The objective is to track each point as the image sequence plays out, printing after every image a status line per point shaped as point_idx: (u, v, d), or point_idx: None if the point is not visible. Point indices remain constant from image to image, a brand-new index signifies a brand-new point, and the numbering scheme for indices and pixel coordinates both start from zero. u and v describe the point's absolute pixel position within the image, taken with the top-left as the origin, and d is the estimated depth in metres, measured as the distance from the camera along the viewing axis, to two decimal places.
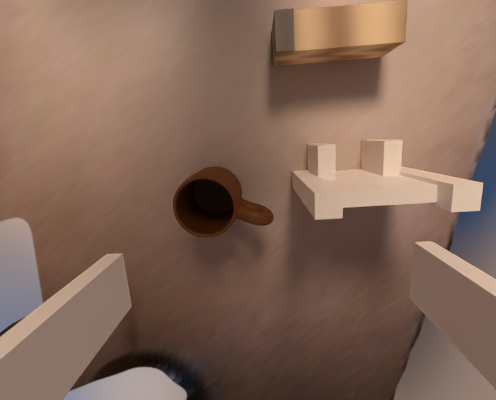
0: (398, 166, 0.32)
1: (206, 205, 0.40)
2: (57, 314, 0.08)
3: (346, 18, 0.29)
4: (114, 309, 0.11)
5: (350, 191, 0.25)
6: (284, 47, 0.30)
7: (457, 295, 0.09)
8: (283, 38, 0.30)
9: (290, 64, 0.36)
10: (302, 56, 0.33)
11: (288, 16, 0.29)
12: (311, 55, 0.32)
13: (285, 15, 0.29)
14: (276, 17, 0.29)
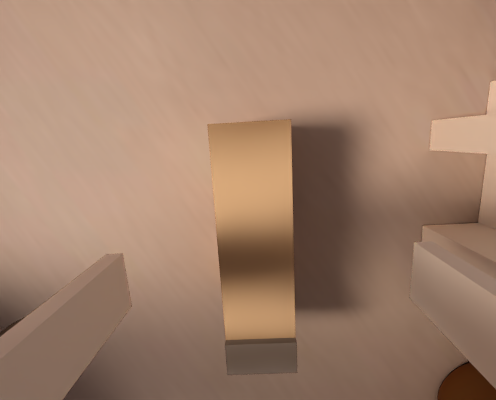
0: None
1: None
2: (57, 314, 0.08)
3: (240, 247, 0.14)
4: (114, 309, 0.11)
5: None
6: (290, 358, 0.15)
7: (458, 295, 0.09)
8: (275, 361, 0.16)
9: None
10: None
11: (238, 353, 0.15)
12: None
13: (236, 358, 0.15)
14: (239, 371, 0.16)
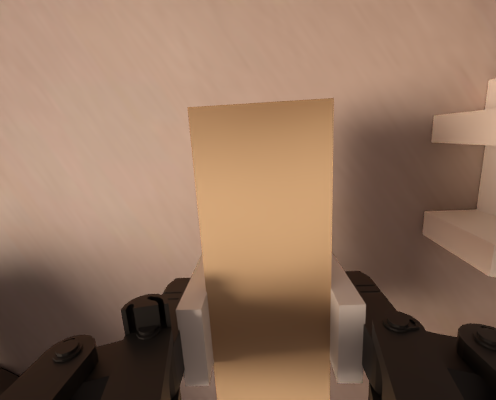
0: None
1: None
2: None
3: (244, 308, 0.09)
4: None
5: None
6: None
7: None
8: None
9: None
10: None
11: None
12: None
13: None
14: None
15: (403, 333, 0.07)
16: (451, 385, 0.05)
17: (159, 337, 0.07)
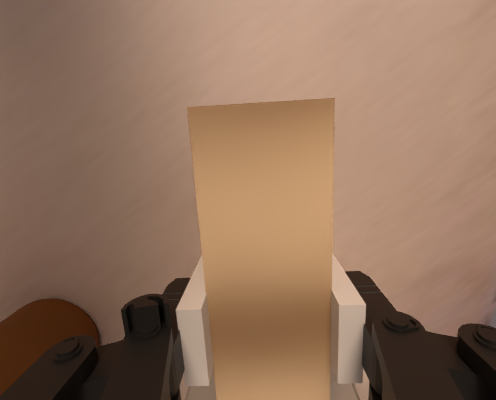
0: None
1: None
2: None
3: (244, 310, 0.09)
4: None
5: None
6: None
7: None
8: None
9: None
10: None
11: None
12: None
13: None
14: None
15: (403, 333, 0.07)
16: (451, 385, 0.05)
17: (159, 337, 0.07)
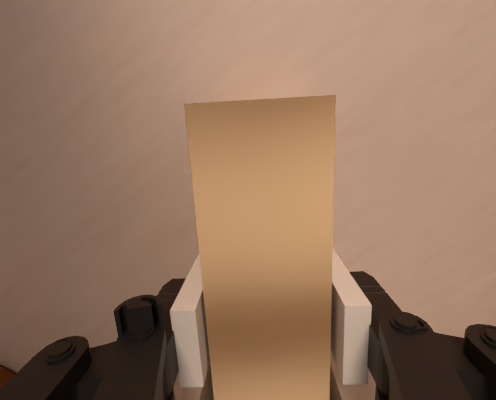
0: None
1: None
2: None
3: (242, 311, 0.09)
4: None
5: None
6: None
7: None
8: None
9: None
10: None
11: None
12: None
13: None
14: None
15: (410, 334, 0.07)
16: (460, 387, 0.05)
17: (153, 338, 0.07)
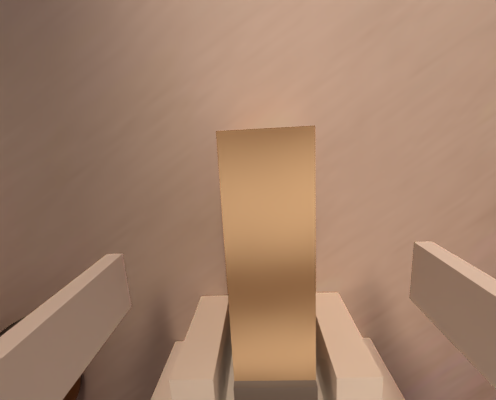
0: None
1: None
2: (57, 314, 0.08)
3: (253, 274, 0.12)
4: (114, 309, 0.11)
5: None
6: None
7: (457, 295, 0.09)
8: None
9: None
10: None
11: (248, 397, 0.13)
12: None
13: None
14: None
15: None
16: None
17: None
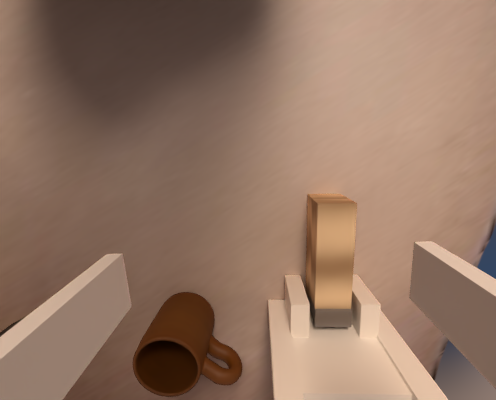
0: (376, 329, 0.30)
1: None
2: (57, 314, 0.08)
3: (327, 261, 0.30)
4: (114, 309, 0.11)
5: (317, 394, 0.23)
6: (348, 319, 0.30)
7: (458, 295, 0.09)
8: (340, 320, 0.30)
9: None
10: None
11: (321, 315, 0.30)
12: None
13: (320, 317, 0.30)
14: (321, 325, 0.31)
15: None
16: None
17: None
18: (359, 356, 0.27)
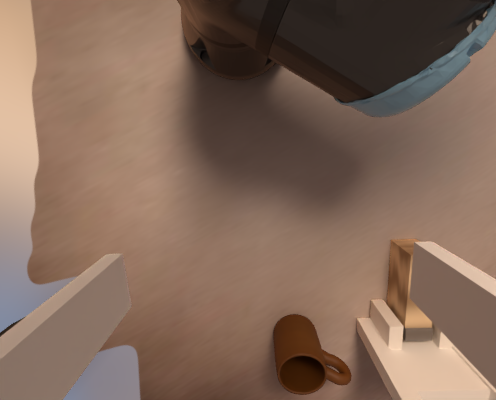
0: (451, 342, 0.41)
1: None
2: (57, 314, 0.08)
3: None
4: (114, 309, 0.11)
5: (425, 391, 0.35)
6: (430, 335, 0.41)
7: (458, 295, 0.09)
8: (424, 336, 0.42)
9: None
10: None
11: (410, 333, 0.41)
12: None
13: (409, 334, 0.42)
14: (409, 340, 0.42)
15: None
16: None
17: None
18: (444, 363, 0.39)
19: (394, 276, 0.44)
